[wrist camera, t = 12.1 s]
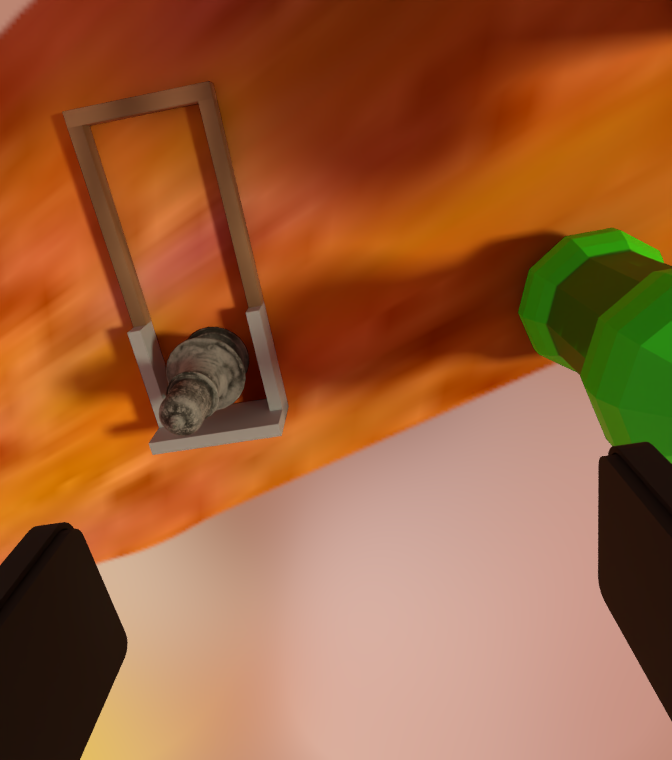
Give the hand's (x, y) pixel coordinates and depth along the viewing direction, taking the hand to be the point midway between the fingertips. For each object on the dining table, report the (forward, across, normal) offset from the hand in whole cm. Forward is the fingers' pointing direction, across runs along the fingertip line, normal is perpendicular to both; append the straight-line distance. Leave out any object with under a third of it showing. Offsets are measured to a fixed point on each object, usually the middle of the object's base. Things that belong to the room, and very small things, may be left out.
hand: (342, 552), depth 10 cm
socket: (+33, +12, +7) cm, 36 cm away
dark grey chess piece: (+34, +12, +7) cm, 36 cm away
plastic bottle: (+34, -16, +6) cm, 38 cm away
